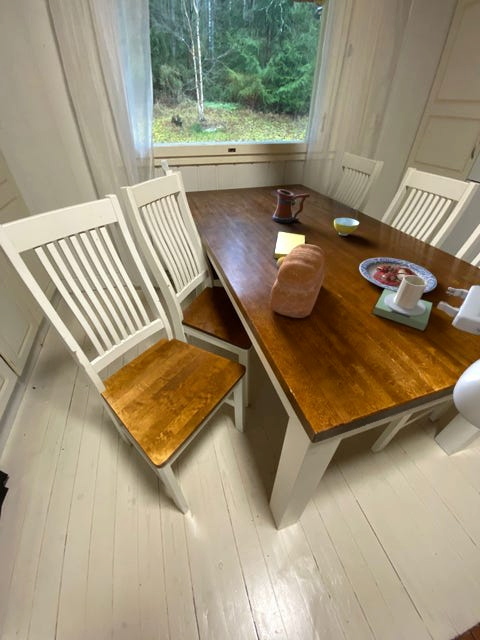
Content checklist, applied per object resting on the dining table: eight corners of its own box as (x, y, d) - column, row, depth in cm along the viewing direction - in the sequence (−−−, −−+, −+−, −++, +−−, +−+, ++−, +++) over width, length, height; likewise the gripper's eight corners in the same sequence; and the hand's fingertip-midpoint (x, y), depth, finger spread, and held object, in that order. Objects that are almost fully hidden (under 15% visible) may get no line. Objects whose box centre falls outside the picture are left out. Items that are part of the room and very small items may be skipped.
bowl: (329, 229, 139) (331, 217, 135) (351, 230, 139) (355, 217, 135) (334, 238, 130) (337, 225, 126) (358, 238, 130) (362, 225, 126)
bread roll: (275, 262, 110) (275, 253, 107) (296, 262, 110) (298, 252, 108) (278, 272, 103) (279, 263, 101) (301, 272, 104) (303, 262, 101)
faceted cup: (417, 302, 83) (428, 279, 78) (414, 311, 80) (426, 288, 74) (395, 295, 86) (405, 273, 81) (391, 304, 82) (401, 281, 77)
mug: (306, 218, 152) (310, 189, 143) (304, 225, 143) (309, 195, 134) (274, 215, 156) (276, 186, 146) (271, 222, 147) (273, 192, 137)
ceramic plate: (358, 258, 113) (360, 251, 112) (427, 269, 107) (431, 262, 105) (357, 289, 94) (359, 282, 93) (440, 304, 88) (445, 297, 86)
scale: (428, 309, 86) (433, 301, 84) (423, 330, 78) (428, 322, 76) (382, 295, 92) (385, 287, 90) (372, 313, 84) (375, 305, 82)
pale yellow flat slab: (303, 260, 111) (303, 238, 130) (304, 255, 110) (304, 233, 128) (274, 257, 113) (278, 236, 131) (274, 253, 112) (278, 231, 130)
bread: (265, 312, 84) (269, 267, 74) (288, 273, 103) (293, 234, 93) (308, 323, 80) (318, 278, 70) (324, 281, 98) (334, 241, 89)
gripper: (491, 349, 64) (427, 323, 71) (502, 311, 76) (446, 292, 83) (508, 328, 60) (438, 303, 67) (517, 292, 72) (456, 274, 79)
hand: (442, 297), depth 75 cm, fingers open, 8 cm apart
